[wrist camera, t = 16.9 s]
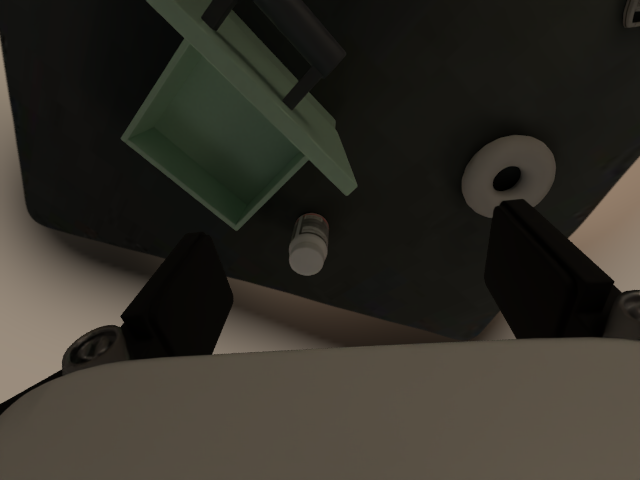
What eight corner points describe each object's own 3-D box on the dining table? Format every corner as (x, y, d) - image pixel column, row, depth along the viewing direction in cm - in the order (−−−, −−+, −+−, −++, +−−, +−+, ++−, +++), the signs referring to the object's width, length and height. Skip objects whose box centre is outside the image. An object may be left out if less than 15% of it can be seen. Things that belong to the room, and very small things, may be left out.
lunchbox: (249, 208, 44) (236, 231, 39) (149, 125, 39) (120, 138, 34) (335, 120, 37) (334, 133, 32) (229, 7, 32) (208, 0, 27)
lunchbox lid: (346, 197, 17) (418, 130, 15) (58, -85, 12) (124, -223, 10) (331, 137, 32) (366, 101, 31) (203, 4, 27) (238, -47, 26)
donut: (482, 121, 37) (444, 201, 42) (494, 127, 34) (451, 212, 39) (563, 144, 37) (516, 219, 42) (582, 152, 34) (529, 232, 39)
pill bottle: (309, 247, 47) (302, 284, 40) (288, 223, 45) (277, 258, 38) (336, 230, 45) (334, 266, 38) (315, 205, 43) (309, 238, 36)
